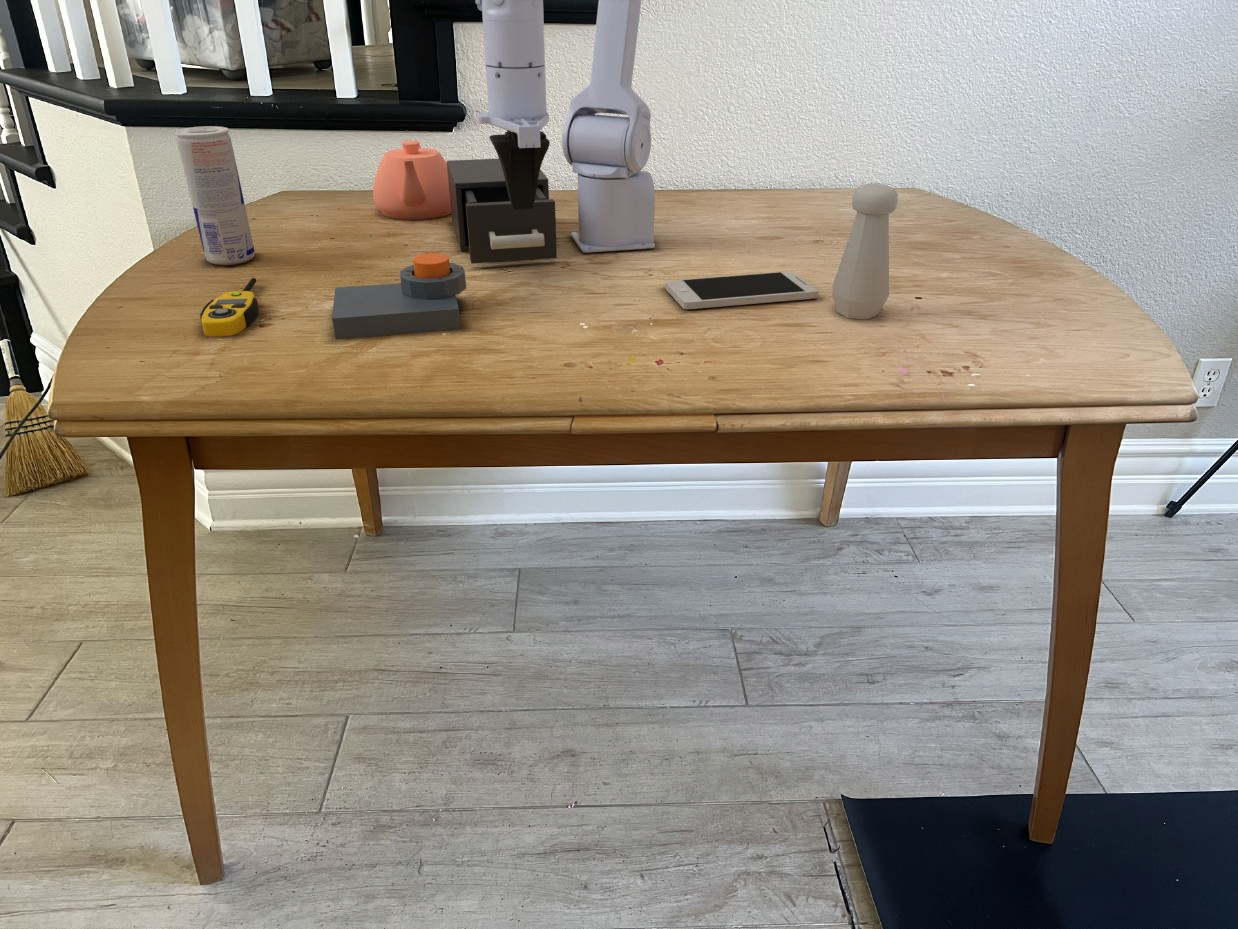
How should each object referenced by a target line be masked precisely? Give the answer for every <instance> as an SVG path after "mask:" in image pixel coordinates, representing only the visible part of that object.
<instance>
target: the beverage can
mask: <svg viewBox="0 0 1238 929" xmlns="http://www.w3.org/2000/svg"><path fill="white" fill-rule="evenodd" d="M229 132H230V131H229V128H228V127H224V126H217V125H215V126H212V125H210V126H209V125H208V126H207V125H206V126H193V127H185V128H181V129H178V130H175V132H174V135H175V136H176V143H177V148H178V152H179V156H180V160H181V165H182V168H183V172H184V176H185V180H186V185H187V189H188V192H189V193H188V194H189V197H190V201H191V205H192V209H193V213H194V217H195V222H196V226H197V230H198V235H199V238H200V242H201V247H202V251H203V254H204V255H203V256H204V258H205V260H206V262H209V263H210V264H212V265H216V266H237V265H240V264H244V263H246V262H249V261H251V260H252V259H253V258H254V257H255V256H256V251H255V247H254V242H253V237H252V233H251V227H250V222H249V218H248V213H247V208H246V203H245V200H244V194H243V189H242V185H241V184H242V183H241V181H240V180H241V179H240V175H239V171H238V168H237V167H238V166H237V162H236V161H237V160H236V157H235V152H234V146H233V141H232V138H231V135H230V134H229Z"/></svg>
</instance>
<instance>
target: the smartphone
mask: <svg viewBox="0 0 1238 929" xmlns="http://www.w3.org/2000/svg"><path fill="white" fill-rule="evenodd" d="M664 289H665V290H666V291H667V292H668V294H669V295H670V296H671V297H673V299H674V300H675V301H676V302H677V303H678V304H679V306H680V308H682V309H683V310H697V309H708V308H719V307H721V308H722V307H729V306H730V307H731V306H744V305H753V304H754V305H755V304H765V303H776V302H789V301H800V300H801V301H802V300H810V299H811V300H813V299H817V298H818V295H819V290H818V289H817V288H816V287H814V286H813V285H812V284H810V283H809V282H808V281H806V280H805V279H804V278H802V277H801V276H800V275H798V274H797V273H796V272H794V271H791V270H787V271H774V272H773V271H772V272H762V273H749V274H748V273H747V274H735V275H723V276H710V277H699V278H685V279H673V280H665V284H664Z"/></svg>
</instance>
